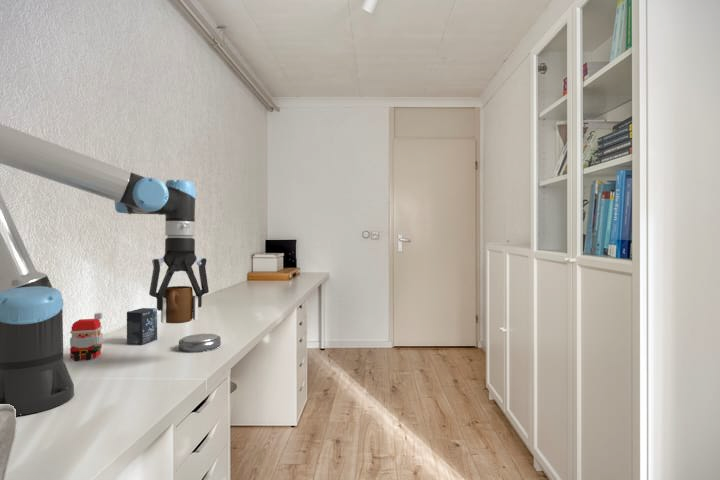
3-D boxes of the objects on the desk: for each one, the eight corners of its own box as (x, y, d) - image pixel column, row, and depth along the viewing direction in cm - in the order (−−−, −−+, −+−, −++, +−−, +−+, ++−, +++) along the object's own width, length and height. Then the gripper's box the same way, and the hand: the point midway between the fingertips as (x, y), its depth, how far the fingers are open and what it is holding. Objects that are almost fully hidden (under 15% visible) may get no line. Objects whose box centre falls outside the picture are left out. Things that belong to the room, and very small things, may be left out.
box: (142, 345, 139) (141, 312, 138) (126, 344, 140) (125, 311, 140) (158, 339, 146) (157, 307, 146) (143, 339, 147) (142, 307, 147)
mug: (186, 326, 114) (186, 290, 114) (154, 327, 113) (155, 290, 113) (194, 318, 126) (195, 285, 126) (166, 319, 125) (167, 286, 125)
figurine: (65, 362, 121) (64, 318, 121) (74, 355, 128) (73, 314, 128) (99, 359, 123) (98, 316, 123) (107, 353, 130) (106, 312, 130)
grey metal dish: (184, 354, 127) (184, 344, 127) (174, 346, 136) (174, 336, 136) (225, 348, 134) (225, 338, 133) (213, 340, 143) (213, 331, 143)
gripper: (141, 236, 111) (140, 327, 111) (221, 237, 123) (221, 319, 123) (136, 236, 117) (135, 322, 117) (213, 237, 129) (213, 315, 129)
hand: (179, 320), depth 120 cm, fingers closed on mug, 7 cm apart
